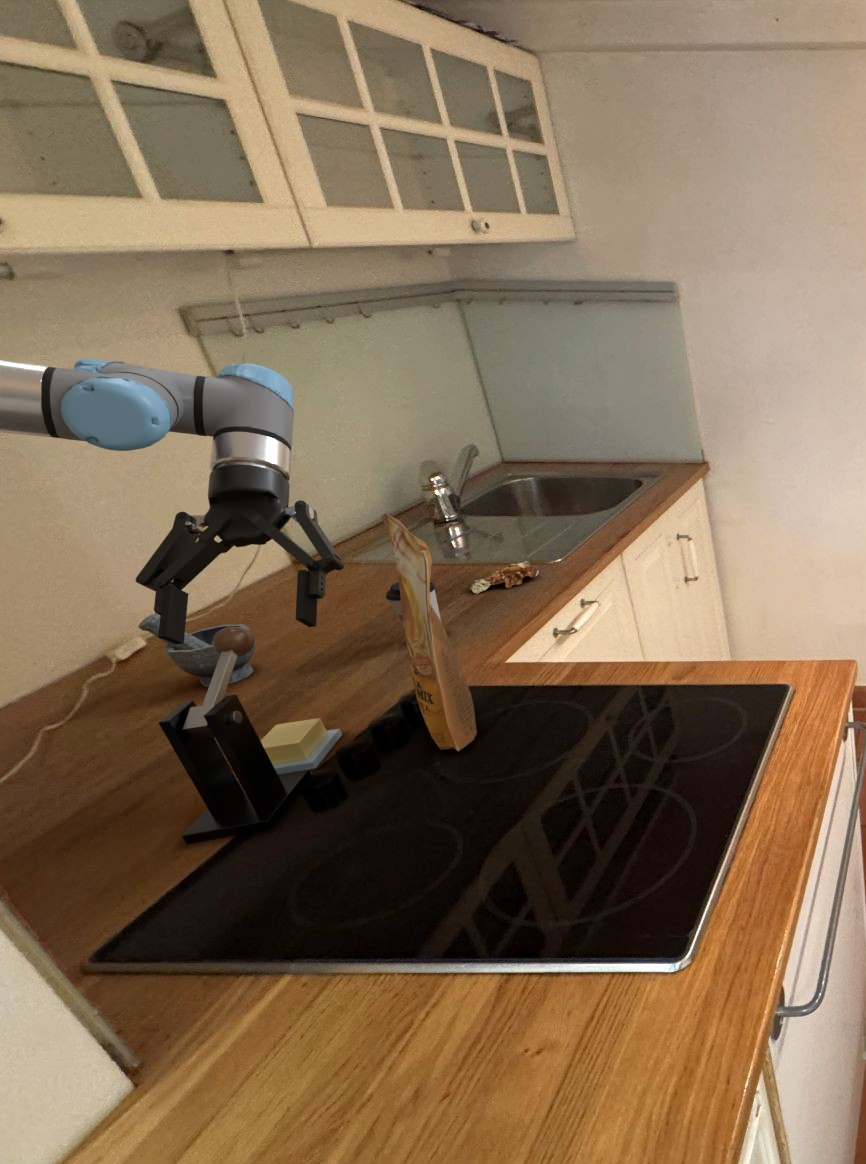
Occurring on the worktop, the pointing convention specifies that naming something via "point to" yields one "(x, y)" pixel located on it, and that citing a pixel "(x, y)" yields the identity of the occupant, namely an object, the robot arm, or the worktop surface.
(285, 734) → the butter dish
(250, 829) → the lever base
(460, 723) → the pancake mix bag
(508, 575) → the pastry
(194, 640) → the mortar and pestle
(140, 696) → the worktop surface
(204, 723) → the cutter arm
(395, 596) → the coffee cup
